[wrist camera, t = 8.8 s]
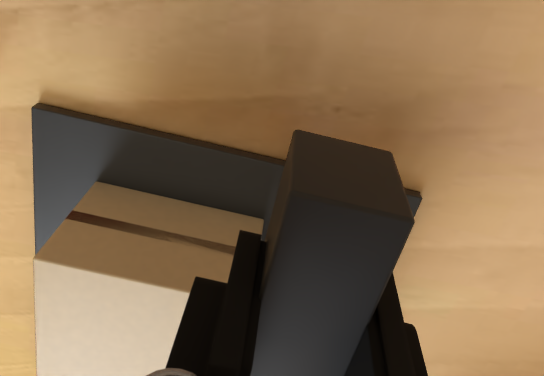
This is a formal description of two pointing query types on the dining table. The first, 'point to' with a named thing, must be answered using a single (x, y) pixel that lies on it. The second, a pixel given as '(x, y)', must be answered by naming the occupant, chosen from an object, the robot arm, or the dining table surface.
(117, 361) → the cake
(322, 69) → the dining table surface
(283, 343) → the knife
